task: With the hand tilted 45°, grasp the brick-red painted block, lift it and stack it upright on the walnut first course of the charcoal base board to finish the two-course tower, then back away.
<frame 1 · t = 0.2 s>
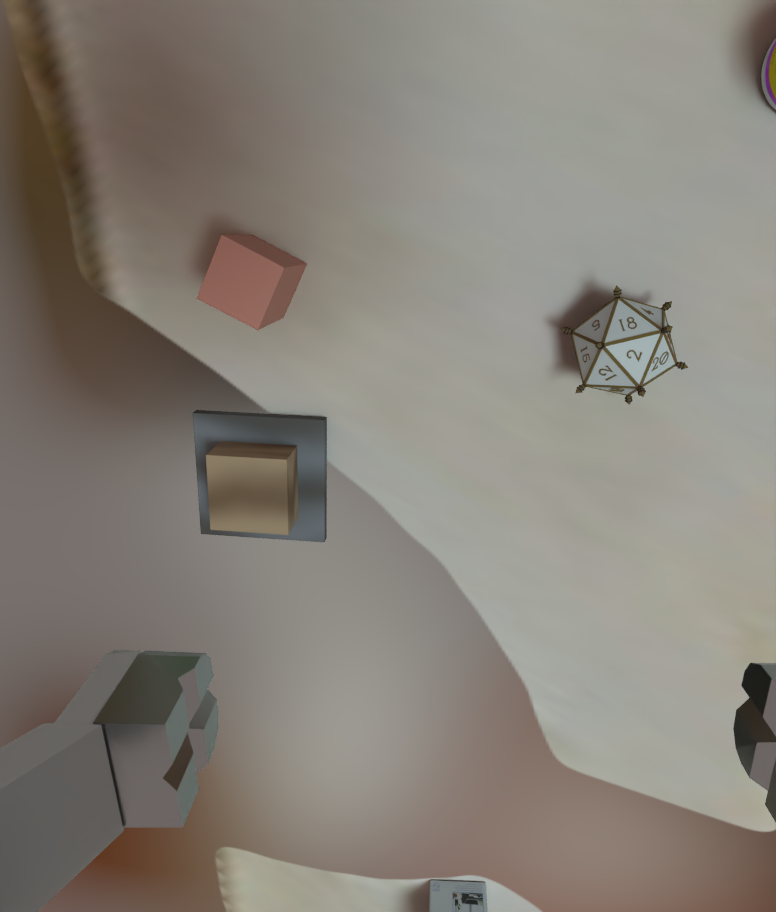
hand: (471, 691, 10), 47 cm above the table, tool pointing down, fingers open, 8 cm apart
light bulb box: (459, 910, 76), on the table
red block: (268, 277, 54), on the table
game die: (610, 339, 54), on the table
tower base: (263, 475, 60), on the table
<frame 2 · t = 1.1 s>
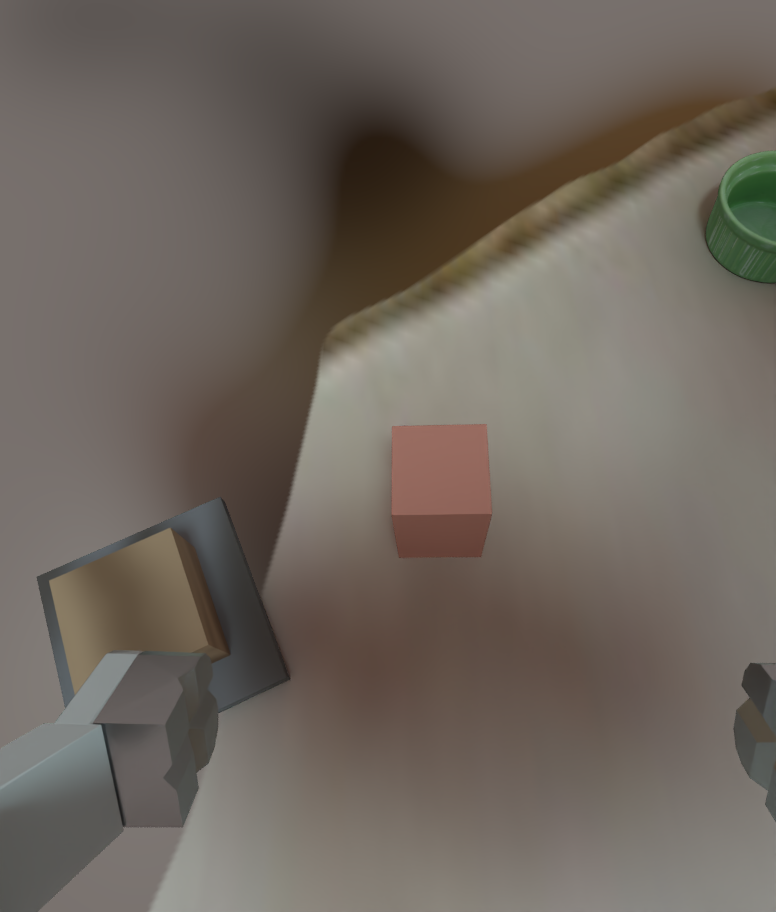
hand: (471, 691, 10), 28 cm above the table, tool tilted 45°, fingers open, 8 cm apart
red block: (438, 518, 40), on the table
tower base: (162, 627, 39), on the table
ramekin: (758, 244, 48), on the table
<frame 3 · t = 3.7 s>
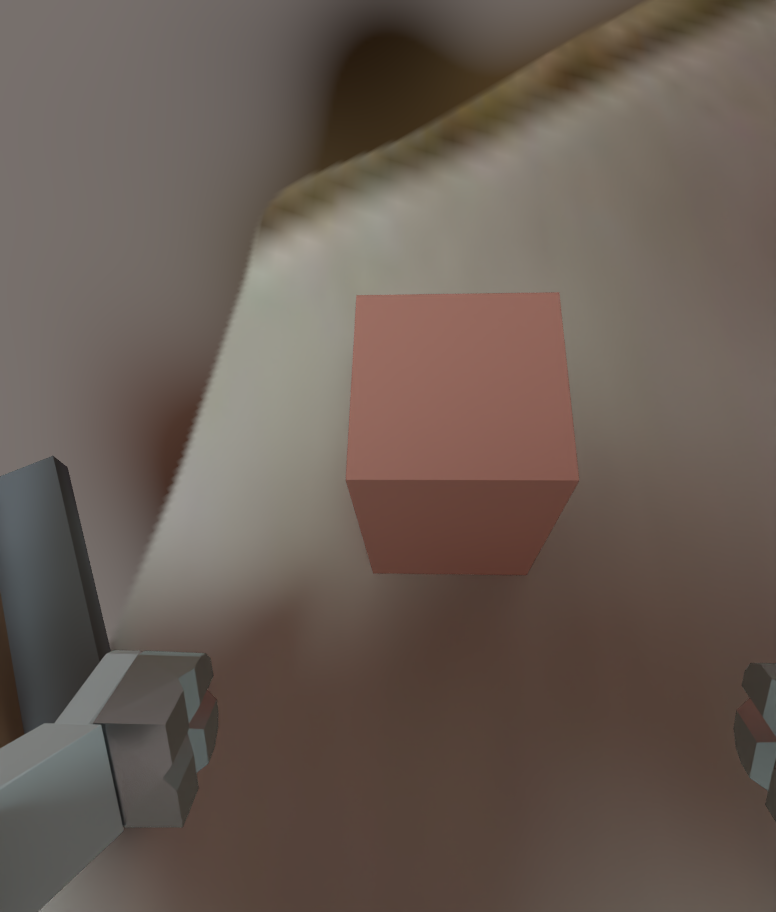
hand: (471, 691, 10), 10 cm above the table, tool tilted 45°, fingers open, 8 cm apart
red block: (448, 502, 22), on the table
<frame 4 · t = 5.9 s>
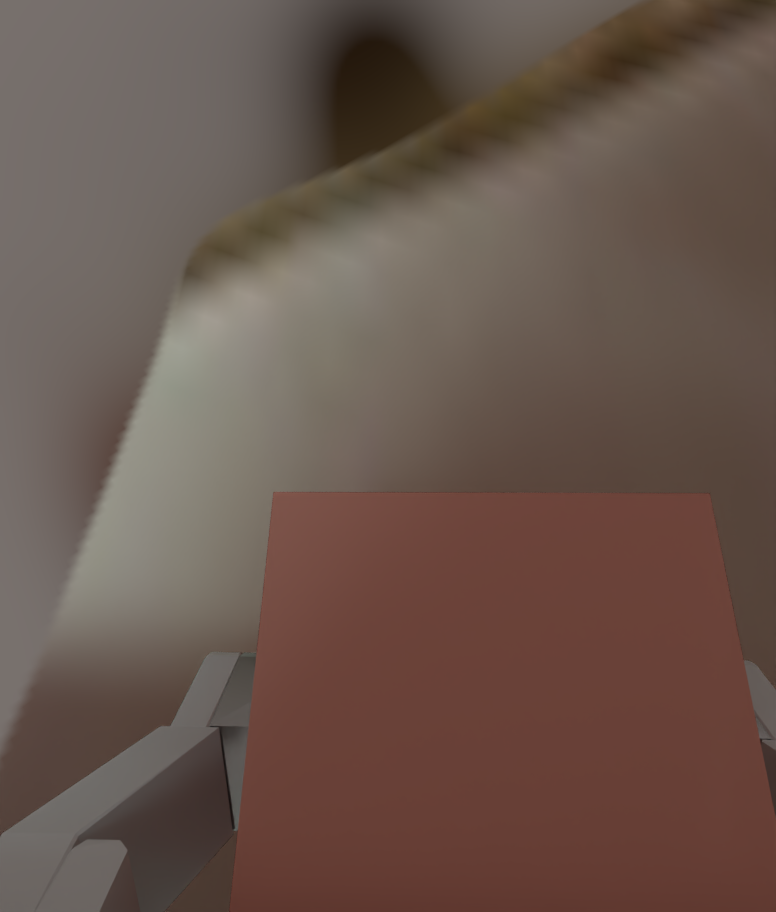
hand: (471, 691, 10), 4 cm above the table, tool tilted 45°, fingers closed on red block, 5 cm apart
red block: (458, 743, 14), on the table, touching gripper
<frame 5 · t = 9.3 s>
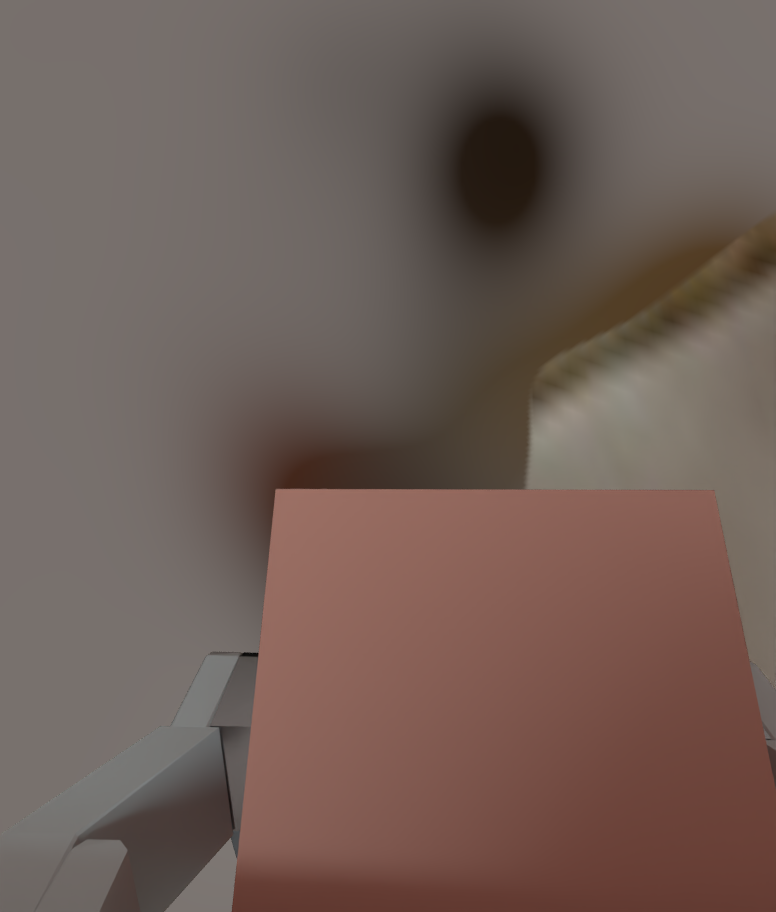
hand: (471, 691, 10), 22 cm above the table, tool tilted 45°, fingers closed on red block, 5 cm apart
red block: (459, 741, 14), point 17 cm above the table, touching gripper
when the fingers open (11 cm above the table, at t = 12.4 s): red block drops 1 cm, resting on tower base.
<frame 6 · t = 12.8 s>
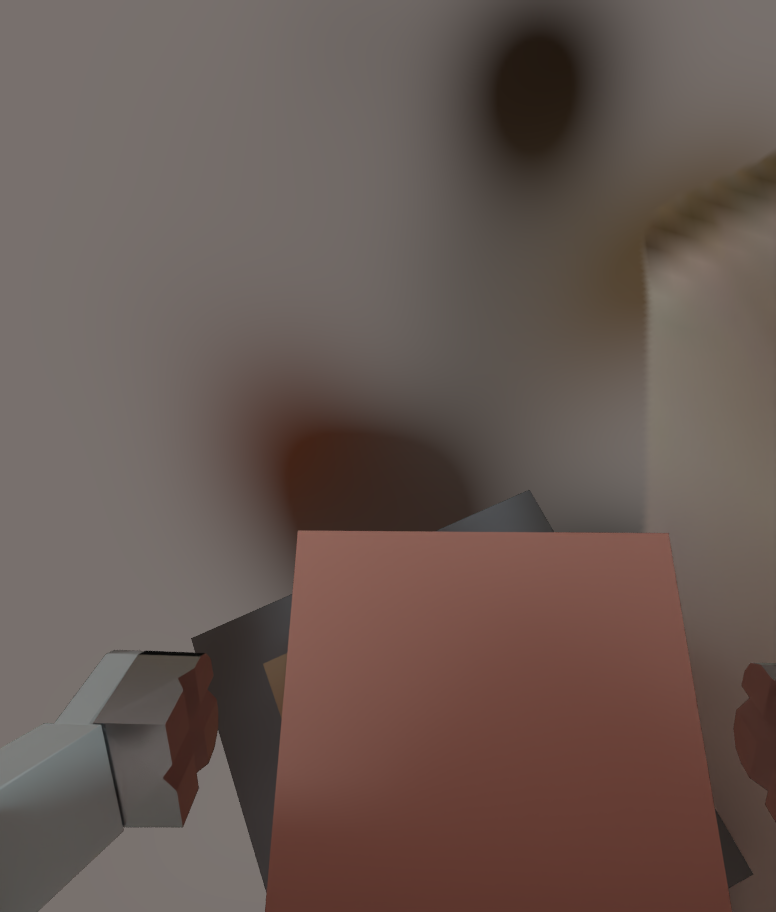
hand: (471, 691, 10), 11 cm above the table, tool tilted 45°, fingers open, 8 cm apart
red block: (456, 743, 15), point 5 cm above the table, touching tower base
tower base: (446, 746, 19), on the table
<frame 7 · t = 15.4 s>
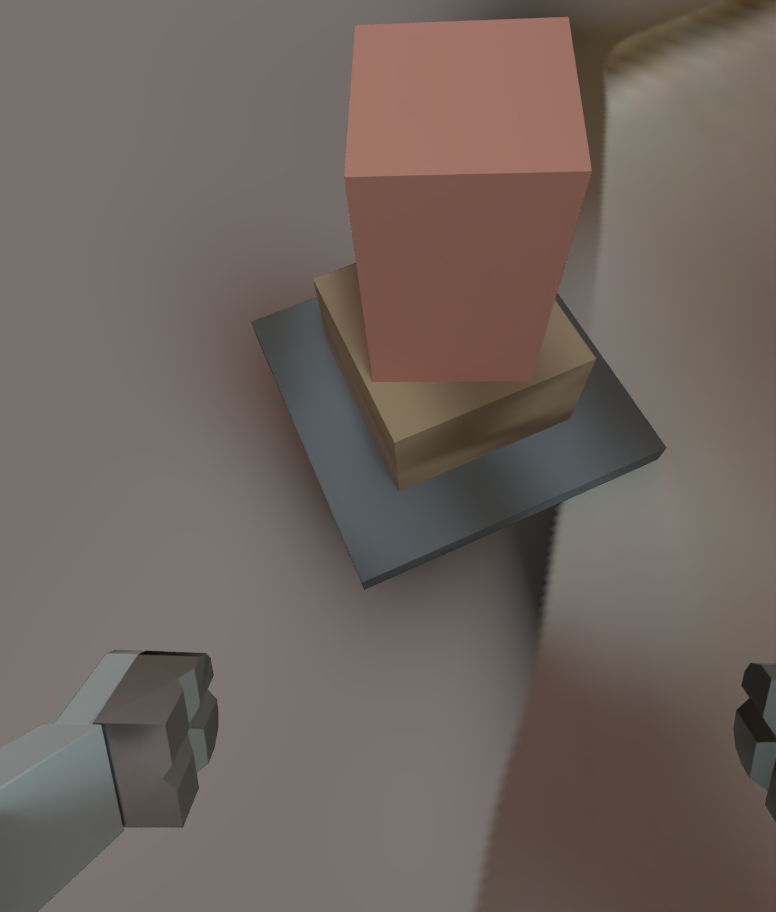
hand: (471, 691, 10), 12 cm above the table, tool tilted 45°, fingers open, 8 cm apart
red block: (450, 317, 21), point 5 cm above the table, touching tower base
tower base: (444, 393, 26), on the table
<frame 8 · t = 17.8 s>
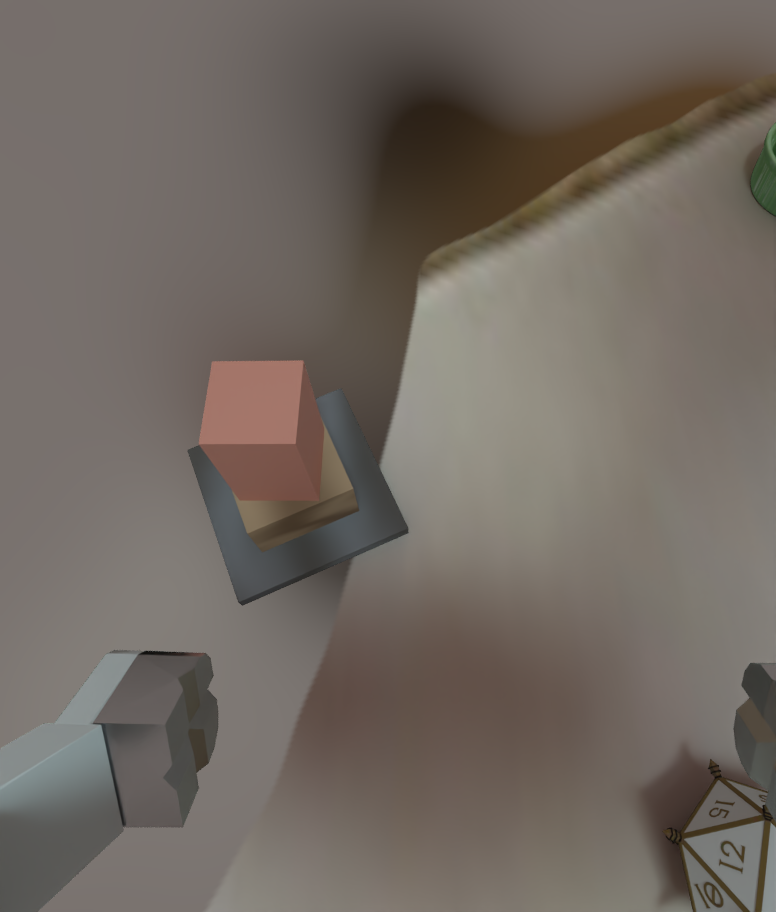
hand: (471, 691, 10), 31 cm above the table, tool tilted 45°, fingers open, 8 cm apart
red block: (282, 463, 41), point 5 cm above the table, touching tower base
game die: (721, 856, 35), on the table
tower base: (296, 492, 45), on the table
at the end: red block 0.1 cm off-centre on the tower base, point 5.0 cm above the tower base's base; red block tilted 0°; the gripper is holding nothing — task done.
